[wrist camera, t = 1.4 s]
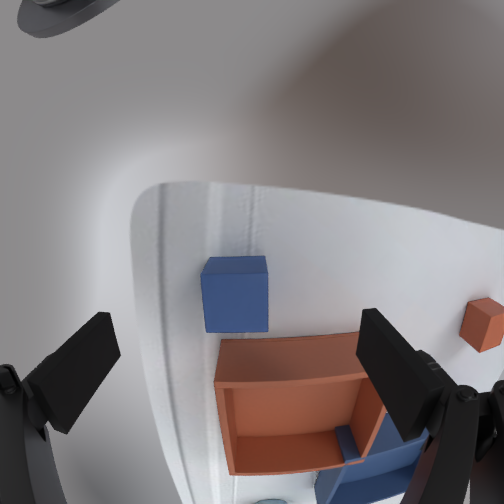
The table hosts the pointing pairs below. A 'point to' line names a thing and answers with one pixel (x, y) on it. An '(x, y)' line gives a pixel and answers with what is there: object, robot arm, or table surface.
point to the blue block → (235, 294)
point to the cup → (271, 502)
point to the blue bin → (370, 467)
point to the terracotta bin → (293, 403)
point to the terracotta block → (483, 324)
